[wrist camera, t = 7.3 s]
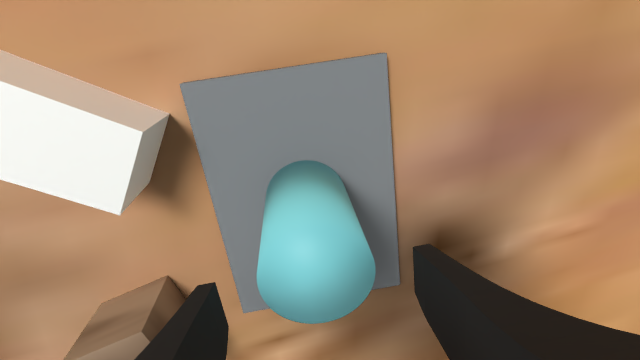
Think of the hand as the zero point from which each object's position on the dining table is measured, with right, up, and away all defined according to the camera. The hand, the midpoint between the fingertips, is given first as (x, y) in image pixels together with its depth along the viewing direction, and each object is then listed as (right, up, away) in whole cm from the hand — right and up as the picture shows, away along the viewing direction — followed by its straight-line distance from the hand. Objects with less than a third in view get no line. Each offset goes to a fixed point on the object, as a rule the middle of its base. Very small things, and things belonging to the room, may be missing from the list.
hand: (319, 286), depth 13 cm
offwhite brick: (-12, +7, +5) cm, 15 cm away
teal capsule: (-1, +3, +7) cm, 7 cm away
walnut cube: (-10, -5, +10) cm, 15 cm away
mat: (-1, +3, +7) cm, 8 cm away
